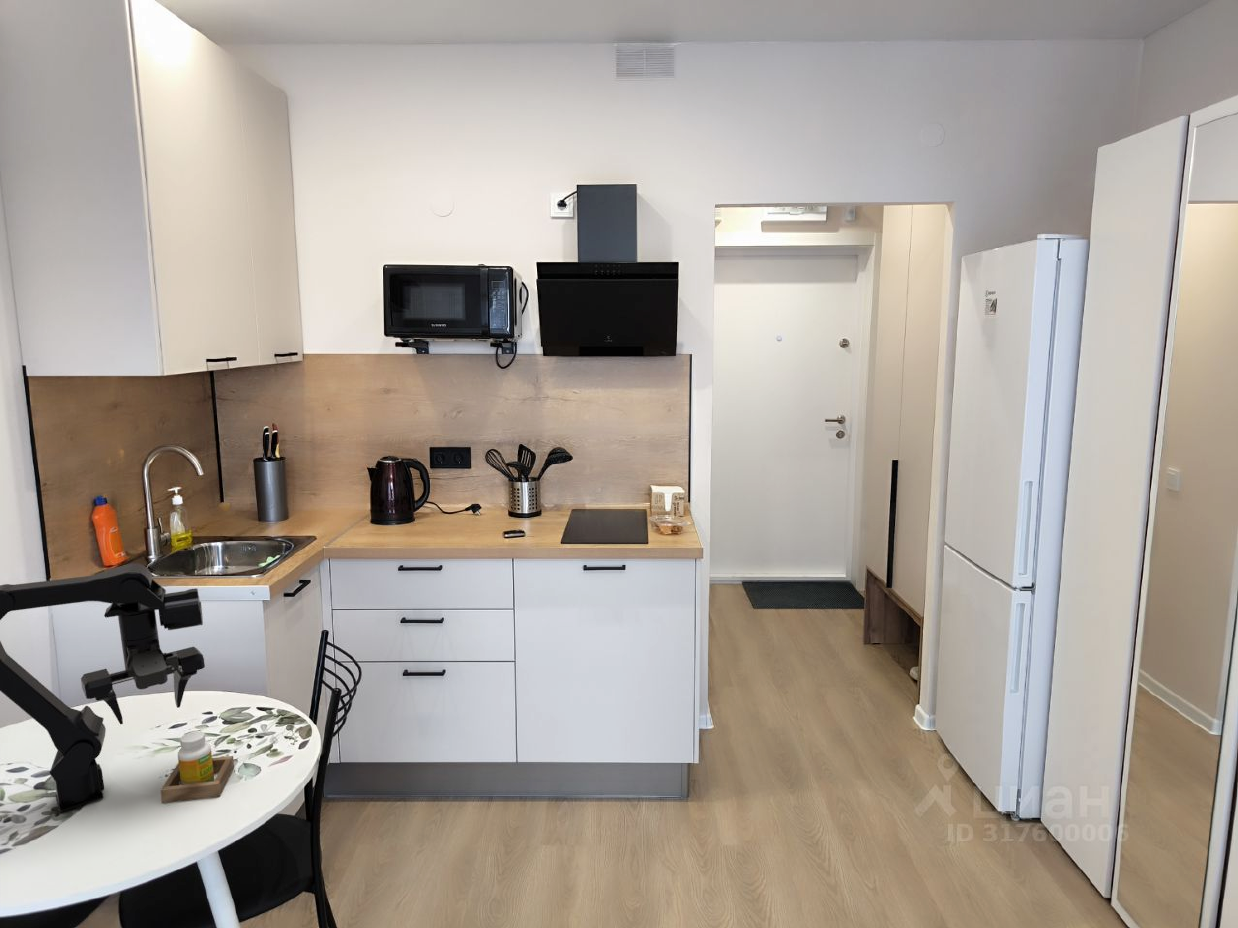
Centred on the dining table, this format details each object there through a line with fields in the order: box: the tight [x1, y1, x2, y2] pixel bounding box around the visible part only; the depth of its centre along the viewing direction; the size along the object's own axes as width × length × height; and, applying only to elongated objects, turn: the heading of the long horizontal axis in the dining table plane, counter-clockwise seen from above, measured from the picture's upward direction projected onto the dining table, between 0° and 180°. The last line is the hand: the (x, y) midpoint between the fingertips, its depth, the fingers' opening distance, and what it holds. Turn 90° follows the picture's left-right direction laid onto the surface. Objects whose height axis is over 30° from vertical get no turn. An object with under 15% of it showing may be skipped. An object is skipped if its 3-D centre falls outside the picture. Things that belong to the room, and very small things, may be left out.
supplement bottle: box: [177, 730, 215, 785], centre depth 147 cm, size 5×5×10 cm
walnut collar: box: [160, 755, 235, 804], centre depth 147 cm, size 10×10×2 cm
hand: (150, 714), depth 147 cm, fingers open, 9 cm apart
